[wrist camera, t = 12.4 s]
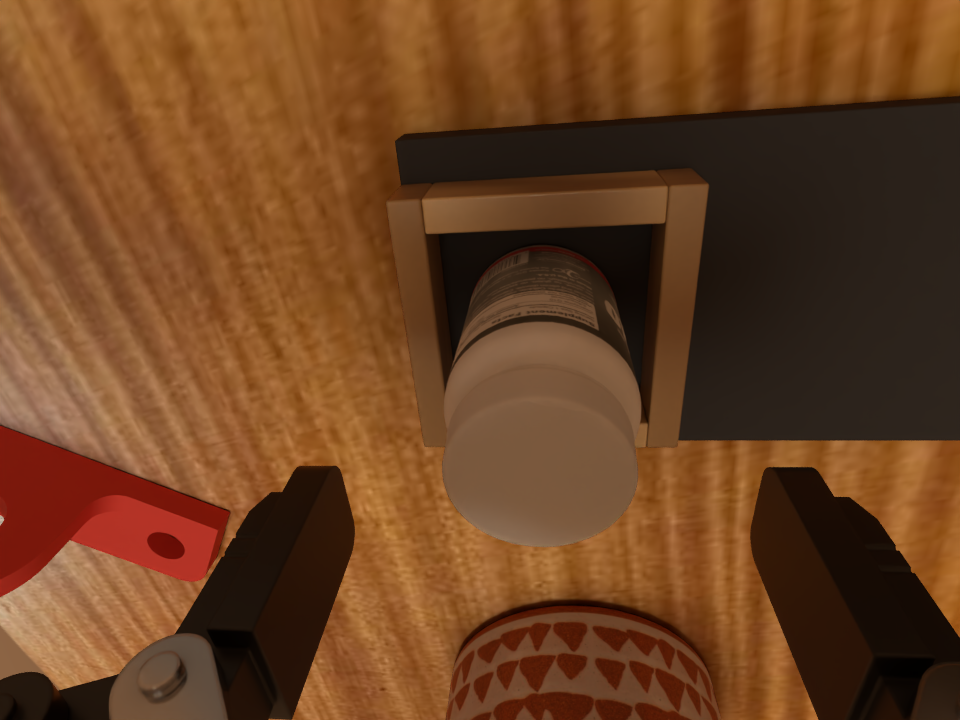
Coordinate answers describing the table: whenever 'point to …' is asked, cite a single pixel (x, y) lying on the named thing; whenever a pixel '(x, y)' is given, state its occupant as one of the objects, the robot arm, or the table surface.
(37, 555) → the bracket
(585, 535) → the pill bottle
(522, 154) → the black board with frame
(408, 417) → the table surface
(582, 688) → the planter
